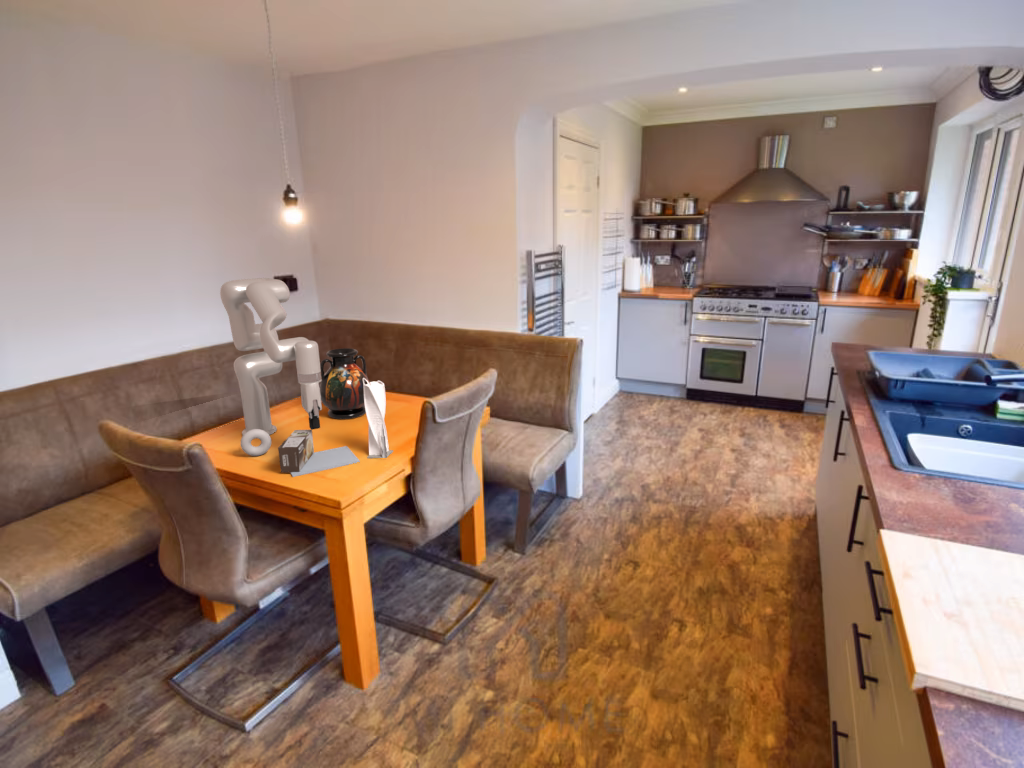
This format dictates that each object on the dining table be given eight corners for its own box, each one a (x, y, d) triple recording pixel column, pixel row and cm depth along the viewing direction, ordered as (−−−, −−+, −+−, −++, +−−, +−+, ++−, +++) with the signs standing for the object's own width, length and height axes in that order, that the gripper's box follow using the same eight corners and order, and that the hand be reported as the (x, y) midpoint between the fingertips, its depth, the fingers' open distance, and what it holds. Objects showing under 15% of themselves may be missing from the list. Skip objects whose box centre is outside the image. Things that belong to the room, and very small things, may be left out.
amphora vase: (328, 425, 228) (321, 359, 220) (316, 411, 246) (310, 349, 238) (379, 416, 238) (374, 352, 231) (365, 403, 256) (360, 344, 249)
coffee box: (293, 429, 195) (277, 446, 180) (312, 429, 196) (297, 446, 180) (296, 454, 198) (280, 472, 182) (314, 453, 198) (300, 472, 183)
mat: (283, 460, 194) (283, 458, 194) (346, 447, 205) (346, 445, 204) (292, 477, 180) (292, 475, 180) (359, 462, 191) (359, 460, 191)
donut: (242, 459, 194) (238, 432, 192) (242, 456, 198) (238, 429, 195) (273, 454, 198) (269, 428, 196) (272, 451, 202) (269, 425, 199)
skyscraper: (363, 458, 195) (356, 381, 188) (372, 449, 203) (366, 374, 195) (386, 459, 194) (380, 381, 186) (394, 450, 202) (389, 375, 194)
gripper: (293, 374, 193) (299, 424, 198) (302, 384, 180) (308, 437, 185) (315, 371, 197) (320, 420, 202) (326, 380, 184) (331, 432, 189)
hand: (315, 428), depth 193 cm, fingers closed
